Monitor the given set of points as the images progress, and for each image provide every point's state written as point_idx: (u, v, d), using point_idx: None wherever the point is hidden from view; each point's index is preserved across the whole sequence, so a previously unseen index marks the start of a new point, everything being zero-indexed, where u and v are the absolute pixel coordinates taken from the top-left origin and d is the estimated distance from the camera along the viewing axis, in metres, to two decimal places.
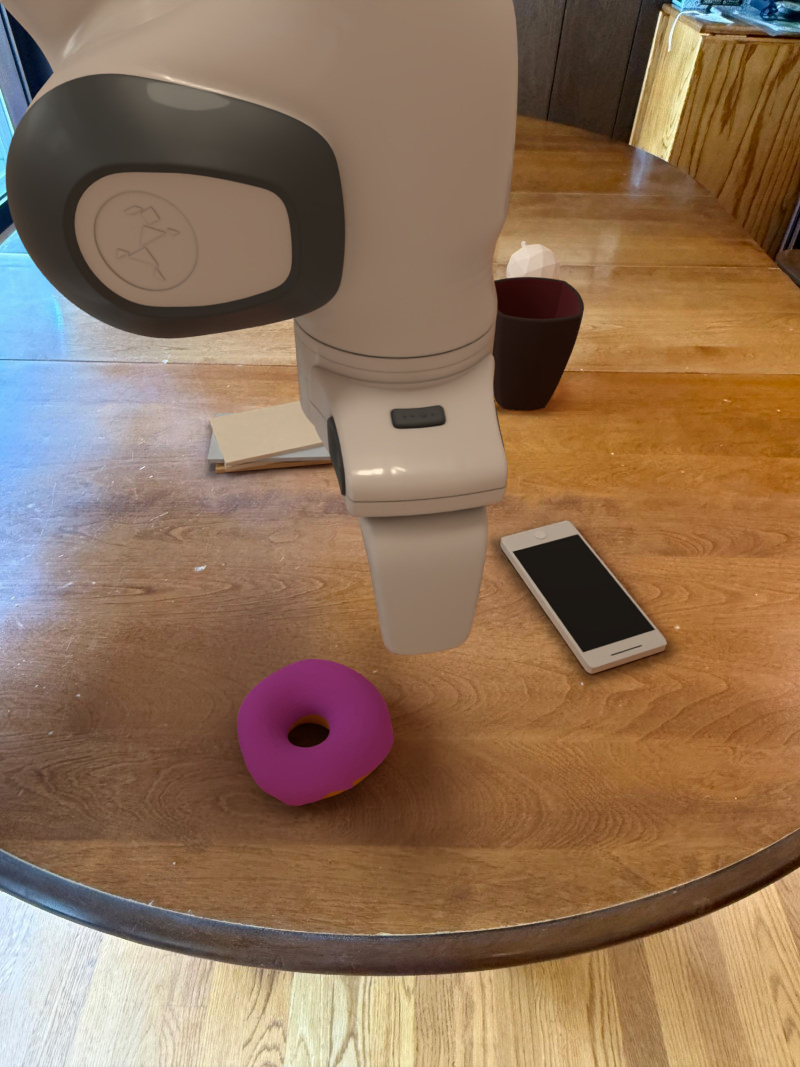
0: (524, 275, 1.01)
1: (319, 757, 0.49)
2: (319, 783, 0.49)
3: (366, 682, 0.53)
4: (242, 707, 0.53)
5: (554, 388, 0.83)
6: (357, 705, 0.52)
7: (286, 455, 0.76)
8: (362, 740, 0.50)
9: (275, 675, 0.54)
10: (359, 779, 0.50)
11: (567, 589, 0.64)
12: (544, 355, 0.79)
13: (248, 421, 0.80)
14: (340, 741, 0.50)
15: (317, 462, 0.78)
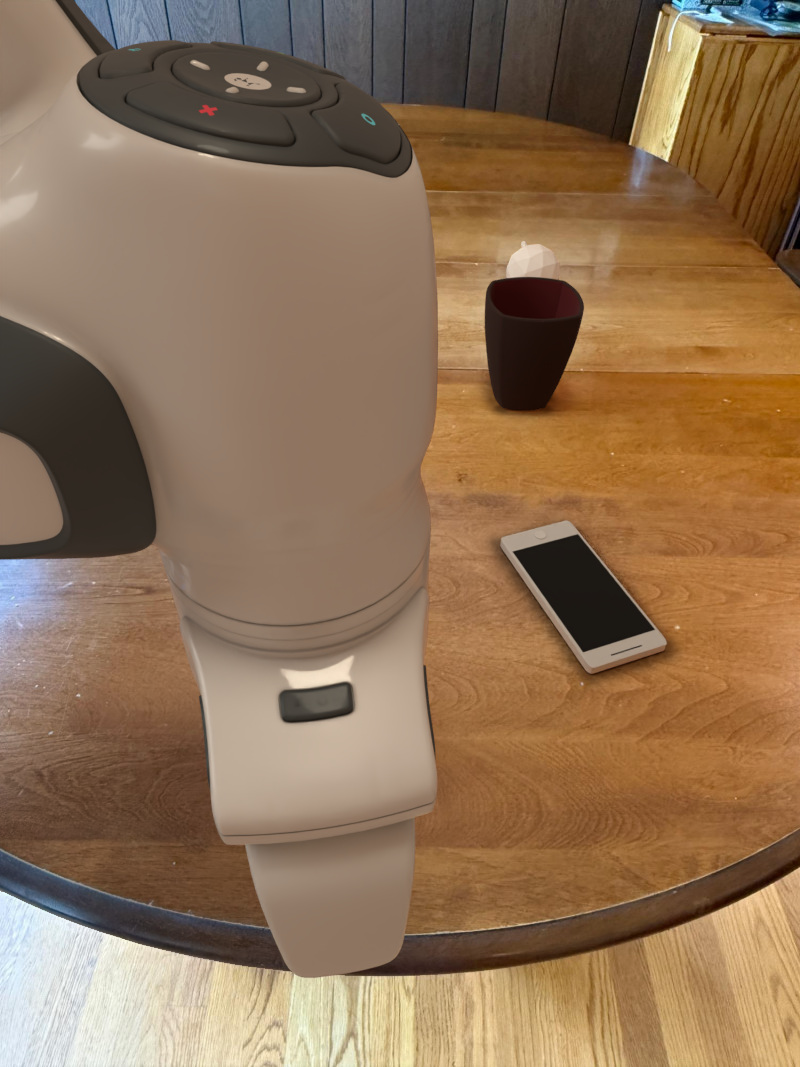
0: (524, 275, 1.01)
1: None
2: None
3: None
4: None
5: (554, 388, 0.83)
6: None
7: None
8: None
9: None
10: None
11: (567, 589, 0.64)
12: (544, 355, 0.79)
13: None
14: None
15: None
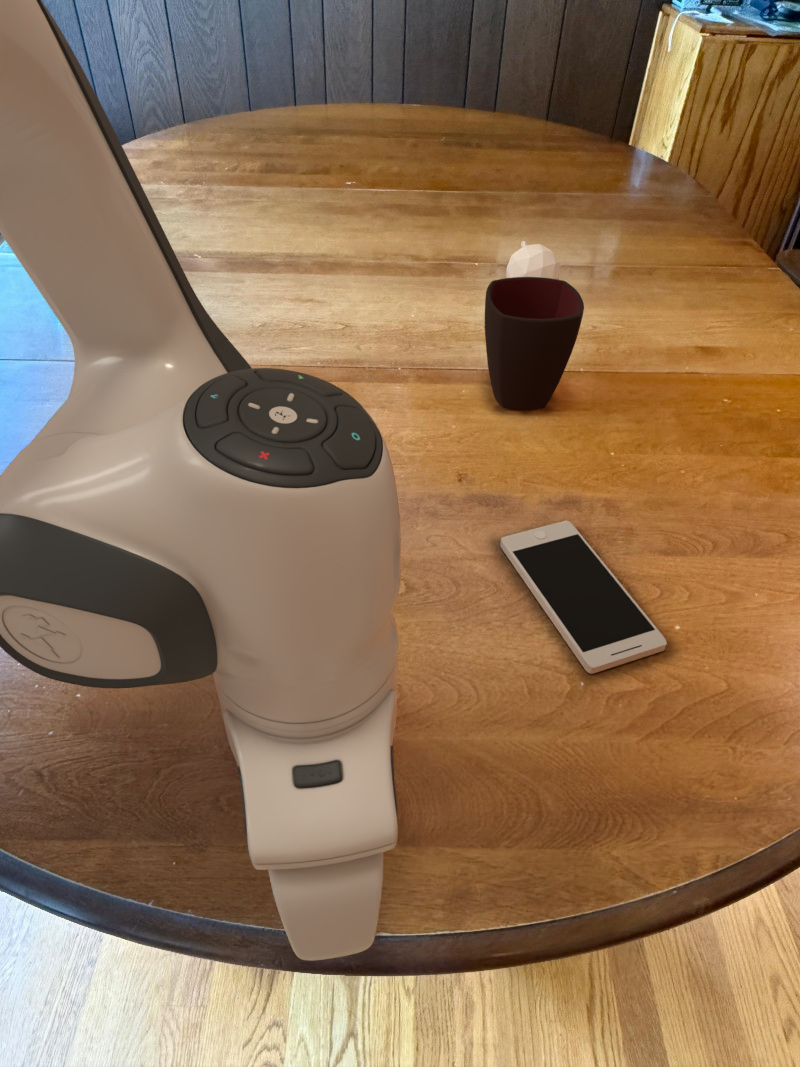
0: (524, 275, 1.01)
1: None
2: None
3: None
4: None
5: (554, 388, 0.83)
6: None
7: None
8: None
9: None
10: None
11: (567, 589, 0.64)
12: (544, 355, 0.79)
13: None
14: None
15: None
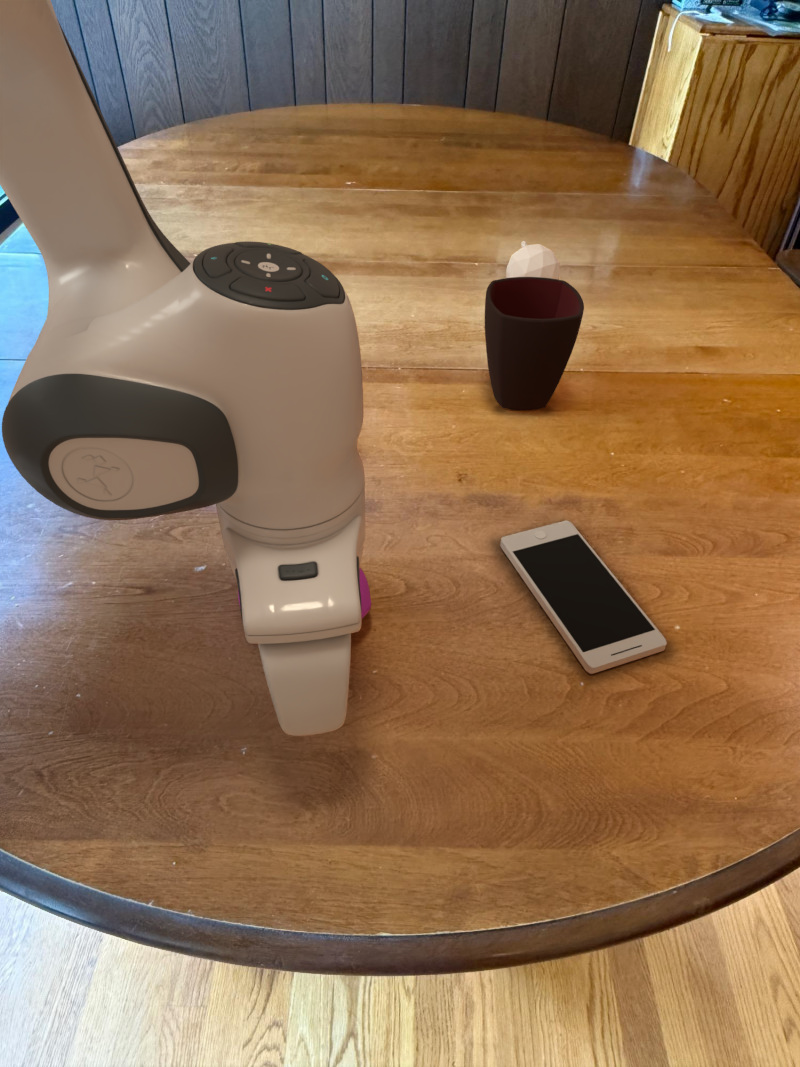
0: (524, 275, 1.01)
1: None
2: None
3: None
4: None
5: (554, 388, 0.83)
6: None
7: None
8: None
9: None
10: None
11: (567, 589, 0.64)
12: (544, 355, 0.79)
13: None
14: None
15: None
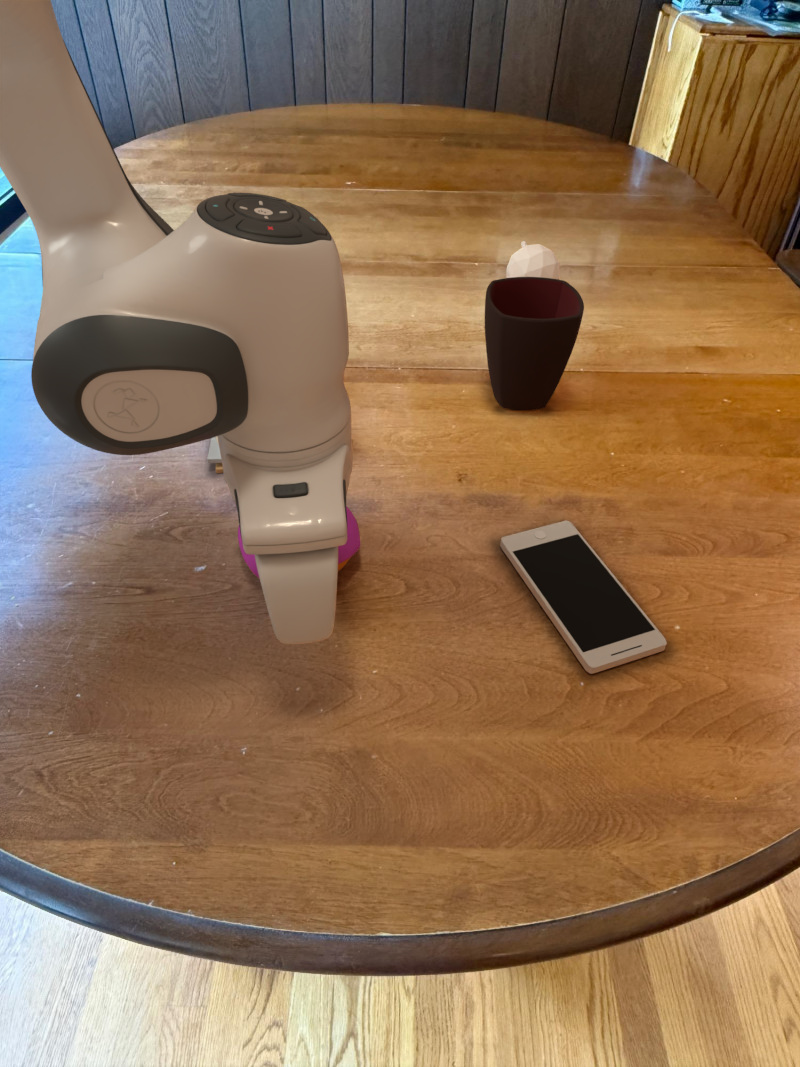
0: (524, 275, 1.01)
1: None
2: None
3: None
4: None
5: (554, 388, 0.83)
6: None
7: None
8: None
9: None
10: None
11: (567, 589, 0.64)
12: (544, 355, 0.79)
13: None
14: None
15: None
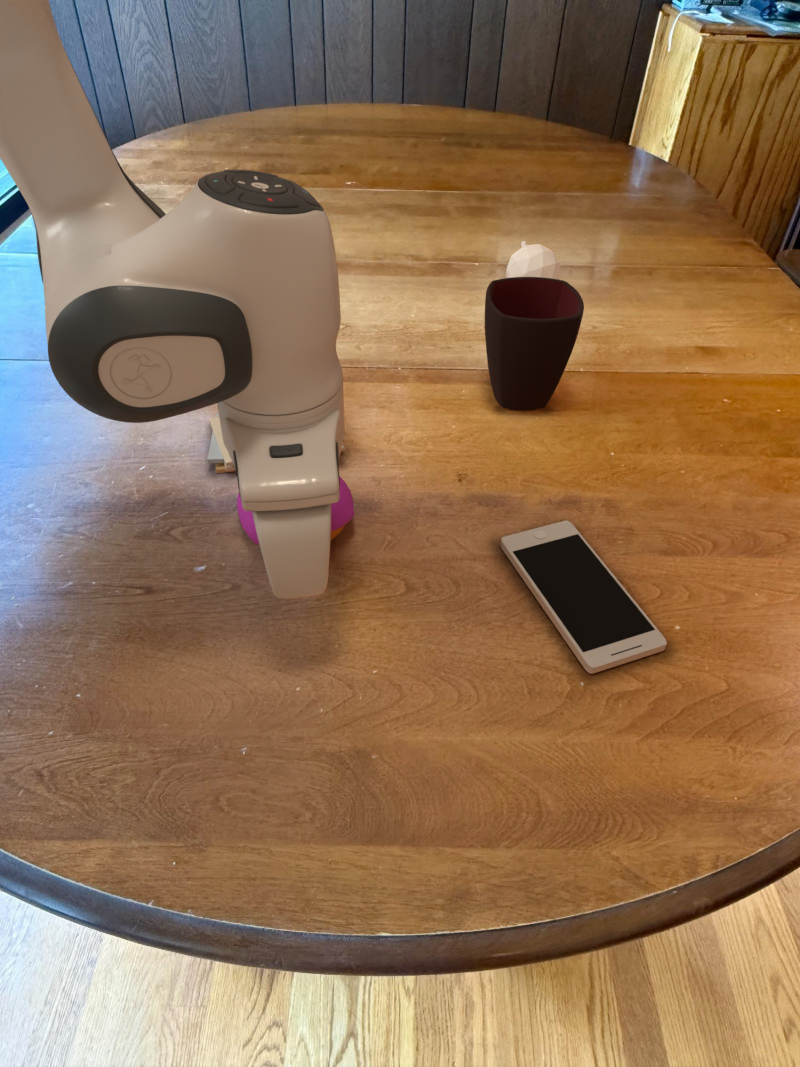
0: (524, 275, 1.01)
1: None
2: None
3: None
4: None
5: (554, 388, 0.83)
6: None
7: None
8: None
9: None
10: None
11: (567, 589, 0.64)
12: (544, 355, 0.79)
13: None
14: None
15: None
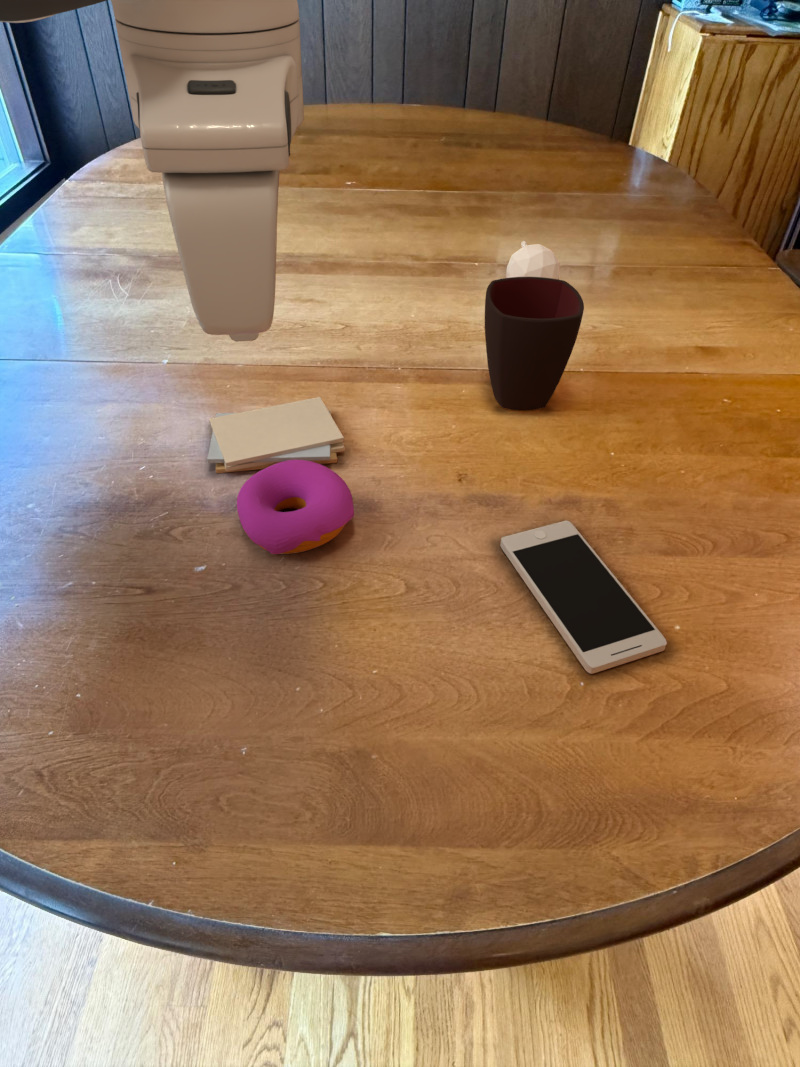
0: (524, 275, 1.01)
1: (295, 515, 0.66)
2: (294, 532, 0.66)
3: (335, 474, 0.70)
4: (241, 488, 0.70)
5: (554, 388, 0.83)
6: (327, 486, 0.68)
7: (286, 455, 0.76)
8: (328, 507, 0.67)
9: (267, 468, 0.71)
10: (325, 535, 0.67)
11: (567, 589, 0.64)
12: (544, 355, 0.79)
13: (248, 421, 0.80)
14: (312, 506, 0.67)
15: (317, 462, 0.78)
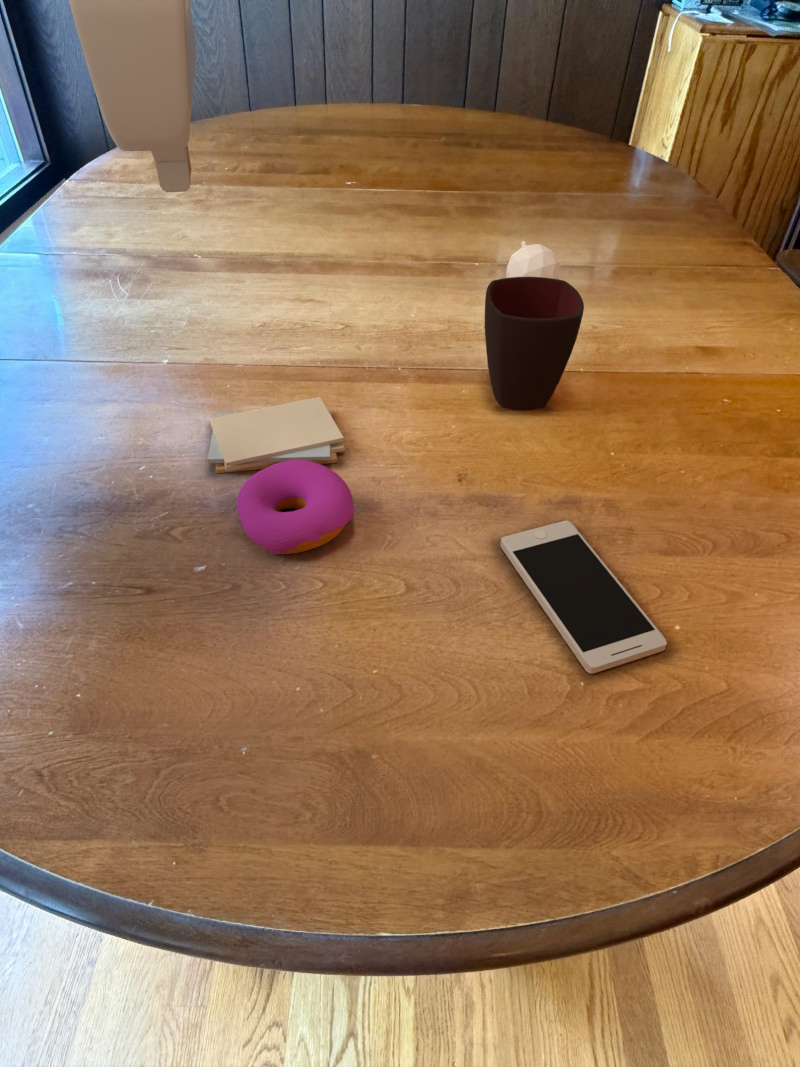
0: (524, 275, 1.01)
1: (295, 515, 0.66)
2: (294, 533, 0.66)
3: (335, 474, 0.70)
4: (241, 488, 0.70)
5: (554, 388, 0.83)
6: (327, 486, 0.69)
7: (286, 455, 0.76)
8: (328, 507, 0.67)
9: (267, 468, 0.71)
10: (325, 536, 0.67)
11: (567, 589, 0.64)
12: (544, 355, 0.79)
13: (248, 421, 0.80)
14: (312, 507, 0.67)
15: (317, 462, 0.78)
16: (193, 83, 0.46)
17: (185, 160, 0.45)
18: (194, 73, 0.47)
